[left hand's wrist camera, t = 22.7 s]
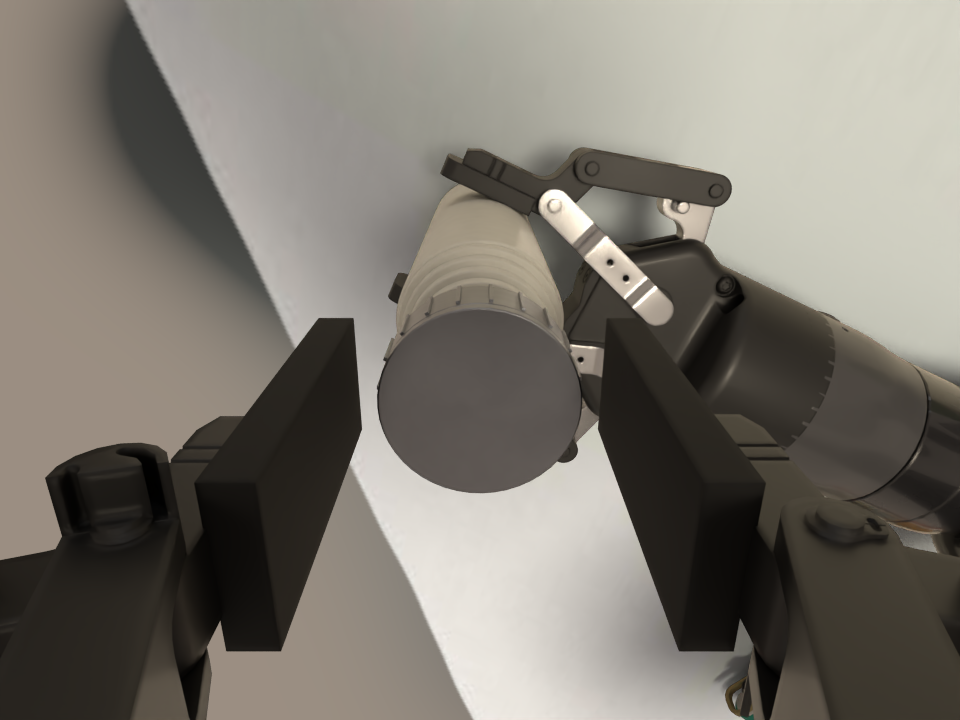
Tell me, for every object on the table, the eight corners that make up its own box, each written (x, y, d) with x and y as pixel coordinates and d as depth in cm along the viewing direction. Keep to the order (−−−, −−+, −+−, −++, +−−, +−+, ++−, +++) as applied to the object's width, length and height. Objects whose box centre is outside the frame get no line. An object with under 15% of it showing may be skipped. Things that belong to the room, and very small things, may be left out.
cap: (610, 387, 15) (625, 420, 13) (466, 487, 16) (465, 528, 14) (495, 242, 13) (496, 261, 12) (347, 360, 14) (331, 391, 13)
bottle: (546, 229, 32) (634, 394, 14) (478, 291, 33) (475, 519, 15) (482, 158, 31) (484, 234, 12) (413, 225, 32) (324, 385, 14)
